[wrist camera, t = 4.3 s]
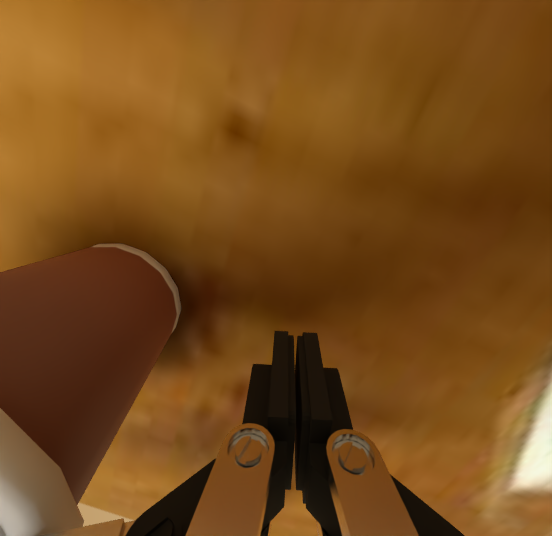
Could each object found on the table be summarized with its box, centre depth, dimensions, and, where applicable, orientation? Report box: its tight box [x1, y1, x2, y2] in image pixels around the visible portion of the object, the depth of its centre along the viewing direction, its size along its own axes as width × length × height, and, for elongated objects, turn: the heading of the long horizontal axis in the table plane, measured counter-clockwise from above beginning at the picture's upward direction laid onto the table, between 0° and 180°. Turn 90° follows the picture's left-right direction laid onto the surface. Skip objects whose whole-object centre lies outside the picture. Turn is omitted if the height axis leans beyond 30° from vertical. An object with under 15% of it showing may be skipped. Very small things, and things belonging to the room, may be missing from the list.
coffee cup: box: [0, 243, 181, 536], centre depth 10 cm, size 9×9×12 cm
